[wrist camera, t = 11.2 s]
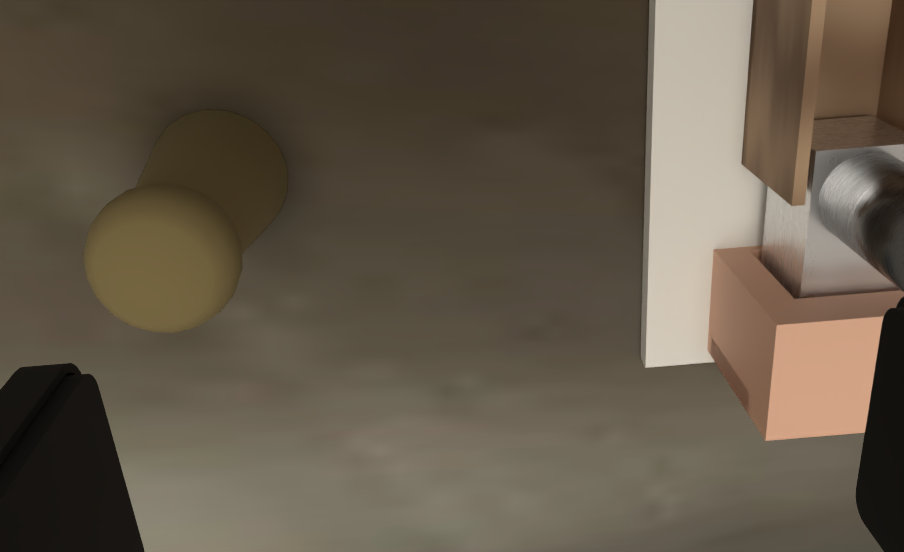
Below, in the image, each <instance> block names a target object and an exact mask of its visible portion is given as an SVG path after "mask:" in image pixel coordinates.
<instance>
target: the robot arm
mask: <svg viewBox="0 0 904 552" xmlns="http://www.w3.org/2000/svg"><path fill="white" fill-rule="evenodd" d="M856 503H857V507H858V511H859V514H860V516H861V519H862V521H863V522H864V524H865V525H866V527H867V528H868V530H869V531H870V532H871V534H872V535H873V537H874V538H875V539H876V541H877V542H878V544H879V545H880V546H881V548H882V549H883V551H884V552H904V297H902V298H901V299H900V301H899V302H898V304H897V306H896V308H890V309H889V310H887V311H886V313H885V315H884V317H883V321H882V326H881V333H880V339H879V346H878V352H877V359H876V365H875V371H874V378H873V384H872V391H871V397H870V403H869V410H868V416H867V423H866V429H865V435H864V442H863V448H862V455H861V461H860V468H859V474H858V480H857V487H856ZM0 552H144V547H143V544H142V540H141V537H140V533H139V530H138V526H137V523H136V519H135V515H134V512H133V508H132V505H131V501H130V498H129V494H128V490H127V487H126V483H125V480H124V476H123V473H122V469H121V466H120V462H119V458H118V455H117V451H116V448H115V444H114V441H113V437H112V434H111V430H110V426H109V423H108V419H107V416H106V412H105V409H104V405H103V401H102V398H101V394H100V391H99V387H98V384H97V382H96V380H95V378H94V377H93V376H92V375H90V374H81V372H80V371H79V369H78V368H77V366H75V365H74V364H72V363H68V364H55V365H43V366H31V367H21V368H19V369H18V370H17V371H16V372H15V373H14V374H13V375H12V376H11V378H10V379H9V380H8V381H7V382H6V384H5V385H4V386H3V387H2V389H1V390H0Z"/></svg>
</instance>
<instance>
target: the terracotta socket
mask: <svg viewBox="0 0 904 552" xmlns="http://www.w3.org/2000/svg"><path fill="white" fill-rule="evenodd" d="M762 247H763V245H762V246H750V247H738V248H725V249H714V250H713V266H712V283H711V299H710V315H709V331H708V348H707V350H708V352H709V353H710V355H711V357H712V358H713V360H714V361H715V363H716V364H717V366H718V367H719V369H720V371H721V372H722V374H723V375H724V377H725V378H726V380H727V382H728V383H729V385H730V386H731V388H732V389H733V391H734V392H735V394H736V396H737V397H738V399H739V400H740V402H741V403H742V405H743V407H744V408H745V410H746V411H747V413H748V414H749V416H750V417H751V419H752V421H753V422H754V424H755V425H756V427H757V428H758V430H759V432H760V433H761V435H762V436H763V438H764V439H765V441H769V440H781V439H792V438H804V437H816V436H828V435H840V434H852V433H864V432H865V429H866V423H867V416H868V410H869V403H870V397H871V391H872V384H873V378H874V371H875V365H876V359H877V352H878V346H879V339H880V333H881V326H882V321H883V317H884V315H885V313H886V311H887V310H889V309H890V308H896V306H897V304H898V302H899V301H900V299H901V298H902V297H904V292H903V291H902V290H899V291H886V292H874V293H862V294H850V295H837V296H825V297H813V298H801V299H794V298H793V297H792V296H791V295H790V293H789V292H788V291H787V290H786V289H785V288H784V287H783V286H782V285H781V284H780V283H779V282H778V281H777V280H776V278H775V277H774V276H773V275H772V274H771V273H770V272H769V271H768V270H767V269H766V268H765V267H764V266H763V265H762V263H761V258H762Z"/></svg>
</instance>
